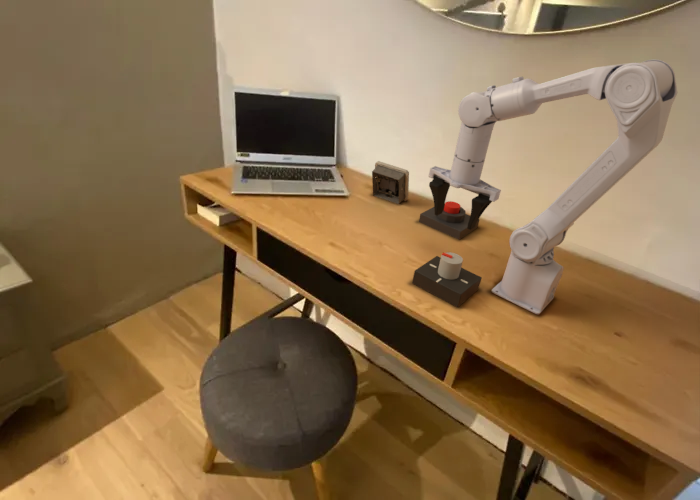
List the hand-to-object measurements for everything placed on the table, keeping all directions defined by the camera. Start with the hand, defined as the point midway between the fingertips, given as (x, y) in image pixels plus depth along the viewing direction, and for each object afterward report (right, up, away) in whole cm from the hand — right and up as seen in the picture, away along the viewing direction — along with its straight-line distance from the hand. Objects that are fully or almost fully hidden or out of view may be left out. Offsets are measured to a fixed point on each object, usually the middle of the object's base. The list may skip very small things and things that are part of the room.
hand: (454, 220), depth 96 cm
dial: (-3, -10, -7) cm, 13 cm away
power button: (+3, +3, +15) cm, 15 cm away
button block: (+2, 0, +17) cm, 17 cm away
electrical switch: (-11, +7, +26) cm, 29 cm away
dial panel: (-3, -13, -6) cm, 15 cm away
